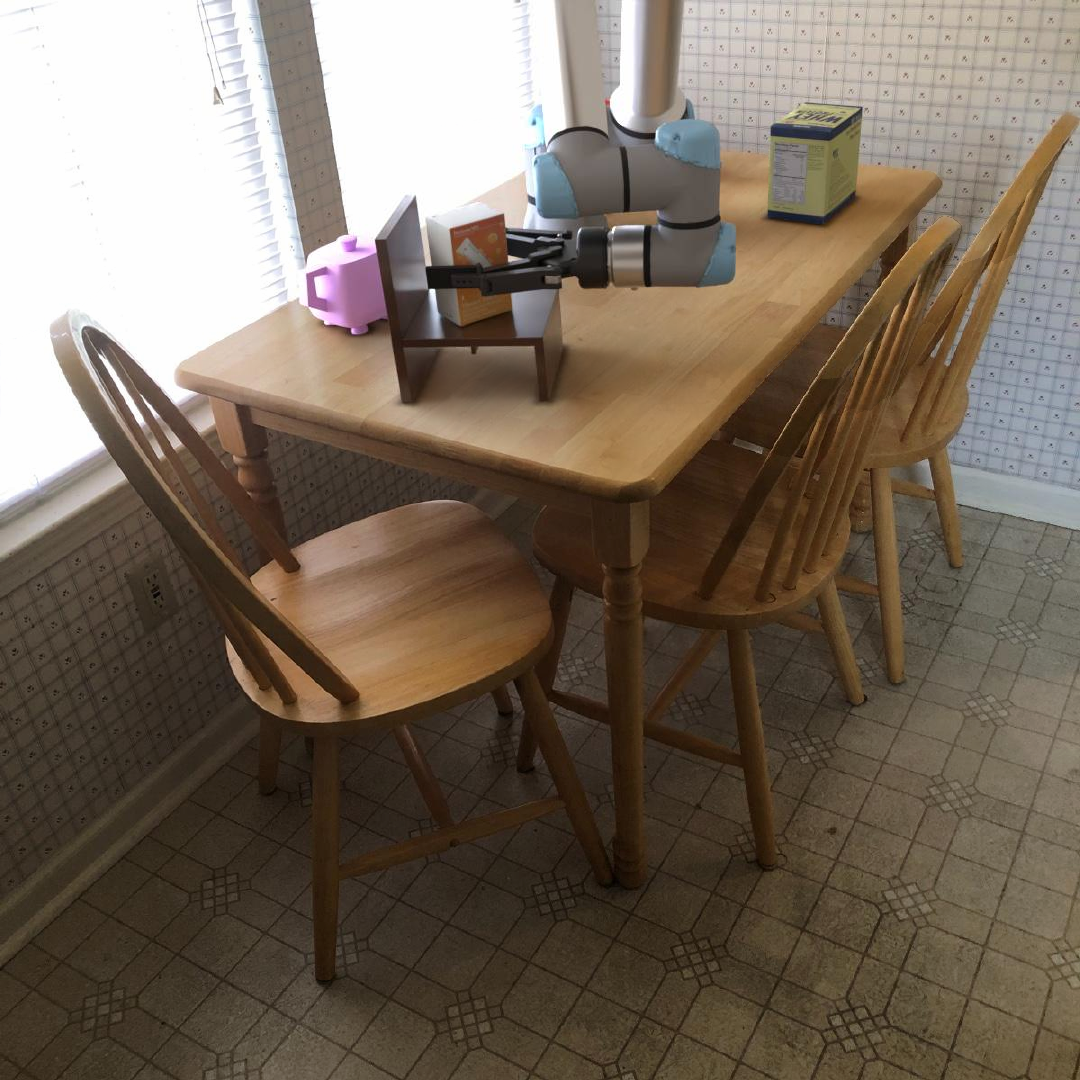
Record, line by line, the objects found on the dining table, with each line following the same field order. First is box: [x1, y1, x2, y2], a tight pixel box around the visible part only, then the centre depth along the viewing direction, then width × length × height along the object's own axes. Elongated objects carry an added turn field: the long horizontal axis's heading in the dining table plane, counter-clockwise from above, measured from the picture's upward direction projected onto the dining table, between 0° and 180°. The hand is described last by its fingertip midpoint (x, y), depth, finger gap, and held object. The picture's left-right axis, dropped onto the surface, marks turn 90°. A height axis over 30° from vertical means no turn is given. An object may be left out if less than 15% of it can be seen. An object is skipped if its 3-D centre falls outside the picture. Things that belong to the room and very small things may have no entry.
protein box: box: [766, 101, 864, 226], centre depth 189 cm, size 10×16×16 cm
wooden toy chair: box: [374, 194, 564, 403], centre depth 145 cm, size 16×19×22 cm
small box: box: [424, 201, 512, 327], centre depth 142 cm, size 8×6×13 cm
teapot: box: [297, 234, 388, 335], centre depth 166 cm, size 20×12×13 cm, turn 139°
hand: (436, 261), depth 143 cm, fingers closed on small box, 10 cm apart
